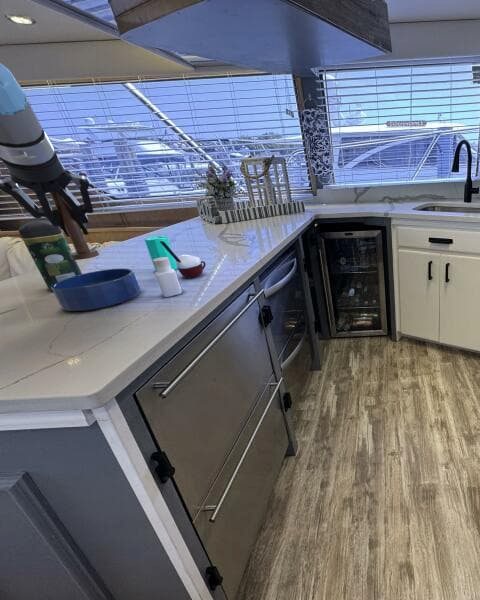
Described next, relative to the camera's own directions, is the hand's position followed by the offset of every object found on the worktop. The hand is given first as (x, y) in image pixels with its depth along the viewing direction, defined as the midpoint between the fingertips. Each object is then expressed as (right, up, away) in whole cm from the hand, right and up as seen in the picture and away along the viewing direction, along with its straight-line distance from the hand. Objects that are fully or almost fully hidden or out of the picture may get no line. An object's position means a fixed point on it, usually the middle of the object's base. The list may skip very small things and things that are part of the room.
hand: (76, 231), depth 78 cm
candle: (+2, -7, +27) cm, 28 cm away
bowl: (+3, -17, +4) cm, 17 cm away
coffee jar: (-18, -13, +15) cm, 27 cm away
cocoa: (+16, -10, +19) cm, 26 cm away
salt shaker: (+19, -15, +6) cm, 25 cm away
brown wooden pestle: (+3, -6, -1) cm, 7 cm away
